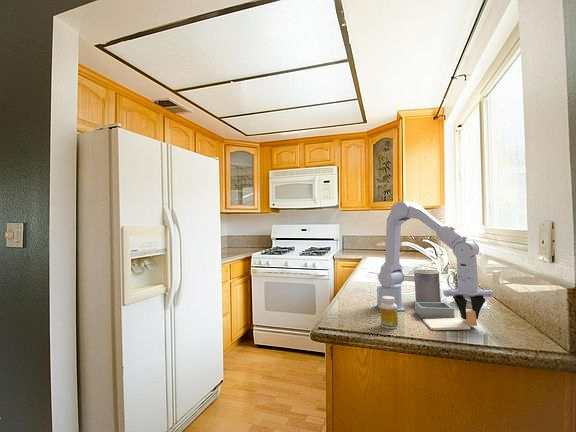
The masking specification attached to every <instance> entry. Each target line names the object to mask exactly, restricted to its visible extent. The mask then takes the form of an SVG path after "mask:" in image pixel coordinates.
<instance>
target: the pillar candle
mask: <svg viewBox="0 0 576 432" xmlns="http://www.w3.org/2000/svg"><path fill="white" fill-rule="evenodd" d="M413 273H414V276H413V277H414V292H415V294H414V295H415V302H442V300H441V299H442V298H441V297H442V296H441V287H440V286H441V284H440V283H441V282H440V271H438V270H436V269H435V270H434V269H428V268H425V269H415V270H414V272H413Z"/></svg>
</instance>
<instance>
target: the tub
mask: <svg viewBox="0 0 576 432" xmlns="http://www.w3.org/2000/svg"><path fill="white" fill-rule="evenodd" d="M414 310H415V311H414V312H415V314H416V315H417V316H418V317H419V318H420V319H421V320H423V319H441V318H456V317H455V308H454V307H453V306H451V305H449V304H448V303H447V302H446V301H445V302H442V301H441V302H416V301H415V302H414Z"/></svg>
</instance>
